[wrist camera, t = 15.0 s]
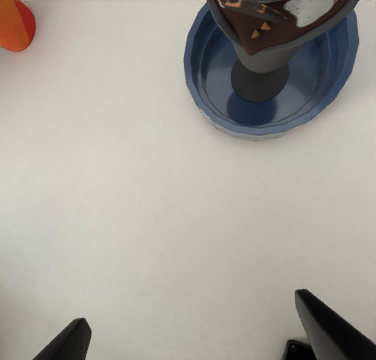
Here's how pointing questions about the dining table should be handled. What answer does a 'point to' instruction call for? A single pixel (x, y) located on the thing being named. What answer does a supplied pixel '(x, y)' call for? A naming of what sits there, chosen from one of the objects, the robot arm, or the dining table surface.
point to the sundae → (271, 38)
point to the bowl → (288, 97)
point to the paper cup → (15, 25)
